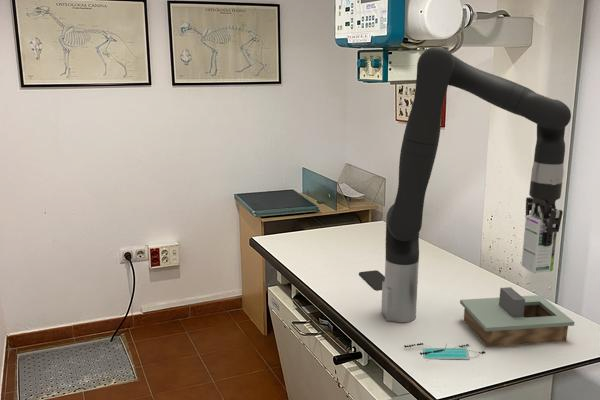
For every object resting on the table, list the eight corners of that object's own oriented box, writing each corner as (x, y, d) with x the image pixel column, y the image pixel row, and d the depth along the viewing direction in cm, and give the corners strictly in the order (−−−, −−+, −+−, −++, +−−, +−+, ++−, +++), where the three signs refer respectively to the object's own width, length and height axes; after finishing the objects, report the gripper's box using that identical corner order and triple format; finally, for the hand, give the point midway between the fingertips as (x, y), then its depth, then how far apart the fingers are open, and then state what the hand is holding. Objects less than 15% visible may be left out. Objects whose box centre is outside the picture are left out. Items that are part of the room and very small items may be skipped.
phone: (375, 289, 188) (357, 272, 202) (375, 292, 188) (357, 274, 202) (396, 287, 190) (377, 269, 204) (396, 289, 190) (377, 272, 204)
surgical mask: (417, 355, 142) (398, 335, 151) (416, 371, 143) (398, 351, 152) (492, 343, 148) (469, 324, 157) (490, 358, 149) (468, 339, 158)
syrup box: (534, 273, 155) (540, 220, 151) (520, 265, 160) (525, 214, 156) (552, 271, 156) (559, 218, 152) (538, 263, 162) (544, 212, 158)
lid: (486, 331, 151) (487, 309, 149) (460, 303, 167) (461, 283, 166) (574, 325, 154) (576, 304, 152) (540, 298, 170) (542, 278, 169)
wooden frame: (486, 346, 153) (488, 329, 152) (463, 320, 168) (464, 304, 166) (566, 341, 156) (568, 323, 155) (536, 315, 171) (538, 299, 169)
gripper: (519, 173, 158) (513, 233, 162) (547, 186, 144) (540, 251, 149) (545, 172, 159) (538, 232, 163) (576, 185, 145) (568, 250, 150)
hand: (539, 241), depth 156 cm, fingers closed on syrup box, 6 cm apart
